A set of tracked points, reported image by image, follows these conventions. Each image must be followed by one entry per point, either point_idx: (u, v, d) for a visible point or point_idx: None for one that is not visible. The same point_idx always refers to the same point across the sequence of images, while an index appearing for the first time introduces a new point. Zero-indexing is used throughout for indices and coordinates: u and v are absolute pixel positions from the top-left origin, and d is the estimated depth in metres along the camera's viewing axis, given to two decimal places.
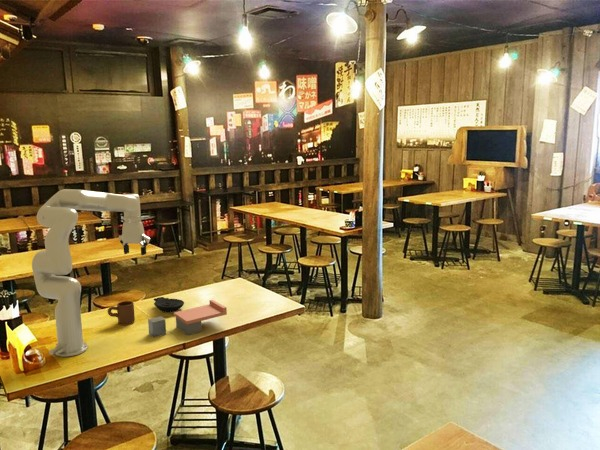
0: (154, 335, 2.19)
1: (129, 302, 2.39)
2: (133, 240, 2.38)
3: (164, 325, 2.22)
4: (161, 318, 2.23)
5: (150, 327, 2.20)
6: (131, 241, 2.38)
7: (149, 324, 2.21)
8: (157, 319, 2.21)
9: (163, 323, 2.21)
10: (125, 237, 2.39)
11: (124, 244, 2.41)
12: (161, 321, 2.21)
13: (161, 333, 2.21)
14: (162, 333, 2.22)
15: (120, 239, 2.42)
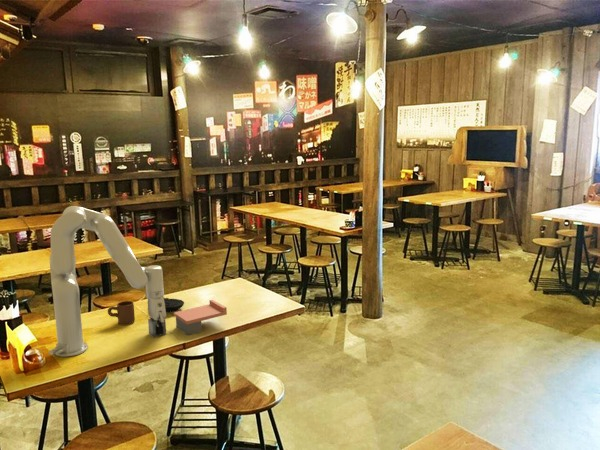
0: (154, 335, 2.19)
1: (129, 302, 2.39)
2: None
3: (164, 325, 2.22)
4: None
5: (150, 327, 2.20)
6: None
7: (149, 324, 2.21)
8: None
9: (163, 323, 2.21)
10: None
11: None
12: None
13: None
14: None
15: None
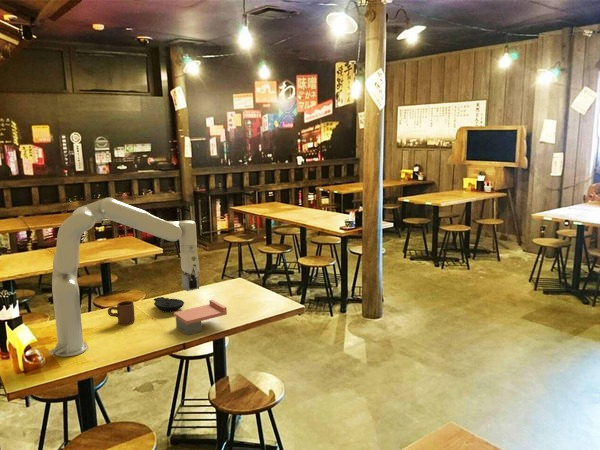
0: (188, 289, 2.22)
1: (129, 302, 2.39)
2: None
3: (197, 279, 2.25)
4: None
5: (184, 281, 2.23)
6: None
7: (183, 278, 2.24)
8: None
9: None
10: None
11: None
12: None
13: None
14: None
15: None
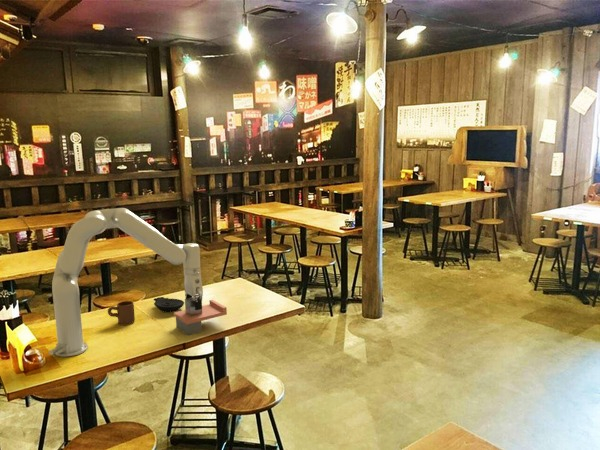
0: (191, 314, 2.25)
1: (129, 302, 2.39)
2: None
3: None
4: None
5: (187, 306, 2.26)
6: None
7: (186, 303, 2.27)
8: (194, 299, 2.27)
9: None
10: None
11: None
12: None
13: (198, 312, 2.27)
14: (198, 312, 2.27)
15: (201, 295, 2.21)
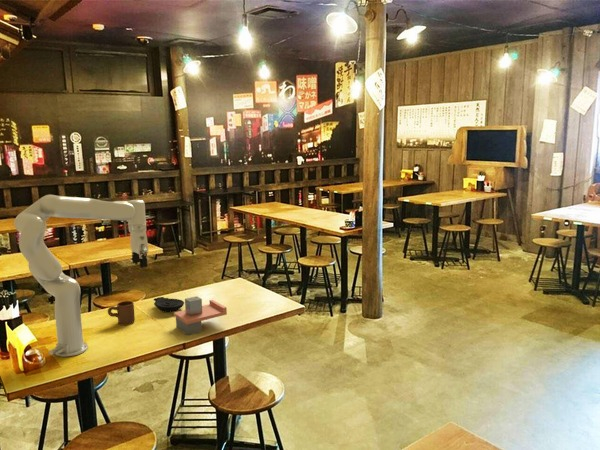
0: (191, 314, 2.25)
1: (129, 302, 2.39)
2: None
3: (200, 304, 2.27)
4: (197, 298, 2.28)
5: (187, 306, 2.26)
6: None
7: (186, 303, 2.27)
8: (194, 299, 2.27)
9: (200, 302, 2.27)
10: None
11: None
12: (198, 301, 2.26)
13: (198, 312, 2.27)
14: (198, 312, 2.27)
15: None
